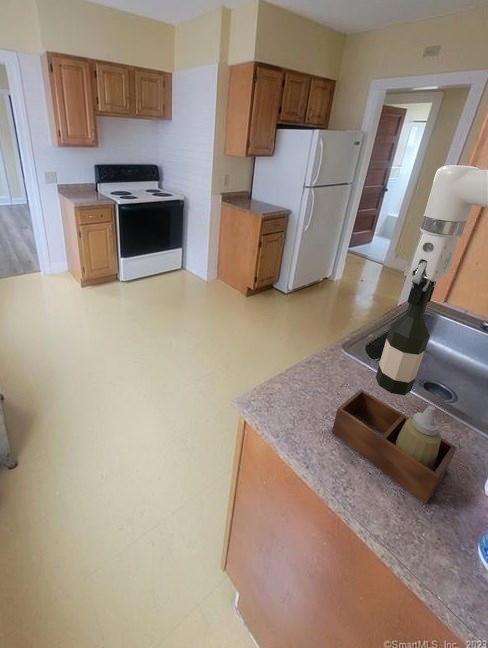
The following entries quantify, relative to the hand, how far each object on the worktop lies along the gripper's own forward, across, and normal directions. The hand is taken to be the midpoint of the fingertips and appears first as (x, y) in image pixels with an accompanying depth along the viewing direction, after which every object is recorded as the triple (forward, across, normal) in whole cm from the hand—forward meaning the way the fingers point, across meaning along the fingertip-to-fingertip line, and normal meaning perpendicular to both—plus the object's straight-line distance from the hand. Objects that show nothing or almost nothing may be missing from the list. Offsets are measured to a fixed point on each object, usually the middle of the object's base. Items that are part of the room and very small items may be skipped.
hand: (418, 301), depth 75 cm
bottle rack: (+34, -13, -6) cm, 37 cm away
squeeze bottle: (+34, -13, -11) cm, 38 cm away
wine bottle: (+25, 0, 0) cm, 25 cm away
